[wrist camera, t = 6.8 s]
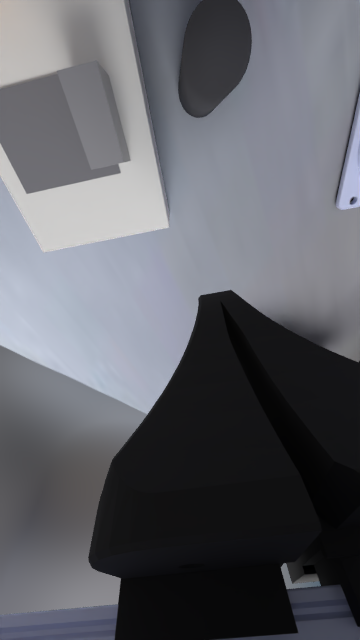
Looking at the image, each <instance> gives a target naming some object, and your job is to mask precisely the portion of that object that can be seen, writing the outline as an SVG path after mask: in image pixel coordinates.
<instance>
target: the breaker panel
mask: <svg viewBox="0 0 360 640" xmlns="http://www.w3.org/2000/svg"><path fill="white" fill-rule="evenodd" d="M0 176H1V178H2V180H3V182H4V183H5V185H6V187H7V189H8V191H9V192H10V194H11V196H12V198H13V199H14V201H15V203H16V205H17V207H18V208H19V210H20V212H21V214H22V215H23V217H24V219H25V221H26V223H27V224H28V226H29V228H30V230H31V231H32V233H33V235H34V237H35V239H36V240H37V242H38V244H39V246H40V248H41V249H42V251H43V253H44V252H49V251H54V250H59V249H64V248H69V247H74V246H79V245H84V244H89V243H94V242H99V241H104V240H109V239H114V238H119V237H124V236H129V235H134V234H139V233H144V232H149V231H154V230H159V229H164V228H169V215H170V213H169V208H168V202H167V197H166V192H165V187H164V182H163V176H162V171H161V166H160V161H159V156H158V150H157V145H156V140H155V135H154V130H153V124H152V119H151V114H150V109H149V104H148V98H147V93H146V88H145V83H144V78H143V72H142V67H141V62H140V57H139V52H138V46H137V41H136V36H135V31H134V26H133V20H132V15H131V10H130V5H129V0H0Z"/></svg>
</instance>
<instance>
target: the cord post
mask: <svg viewBox="0 0 360 640" xmlns="http://www.w3.org/2000/svg"><path fill="white" fill-rule="evenodd" d="M251 43H252V39H251V28H250V23H249V20H248V17H247V14H246V12H245V10H244V8H243V7H242V5H241V4H240V3H239V2H238V1H237V0H203V1H202V2H201V3H200V4H199V5H198V6H197V7H196V9H195V10H194V12H193V13H192V15H191V17H190V19H189V22H188V25H187V28H186V31H185V36H184V44H183V52H182V61H181V69H180V78H179V89H178V91H179V98H180V102H181V104H182V106H183V108H184V110H185V111H186V112H187V113H188V114H189V115H191V116H193V117H197V118H200V117H204V116H206V115H208V114H209V113H211V112H212V111H213V110H214V109H215V108H216V107H217V106H218V105H219V103H220V102H221V101H222V100H223V99H224V98H225V97H226V96H227V95H228V94H229V93H230V92H231V91H232V90H233V89H234V88H235V87H236V86H237V85H238V84H239V82H240V81H241V79H242V77H243V75H244V74H245V71H246V69H247V66H248V63H249V59H250V54H251Z"/></svg>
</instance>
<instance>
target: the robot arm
mask: <svg viewBox="0 0 360 640" xmlns="http://www.w3.org/2000/svg"><path fill="white" fill-rule="evenodd" d="M352 197H354V200H353V201H352V202H351V203H350V199H351V198H352ZM336 207H337V208H339V209H342V210H344V209H349V208H354V207H360V94H359V98H358V103H357V108H356V112H355V117H354V121H353V126H352V131H351V135H350V140H349V145H348V149H347V154H346V158H345V163H344V168H343V172H342V177H341V181H340V186H339V191H338V195H337V200H336ZM198 300H199V306H198V313H197V317H196V321H195V325H194V329H193V332H192V334H191V337H190V340H189V343H188V345H187V348H186V350H185V352H184V355H183V357H182V359H181V361H180V363H179V365H178V367H177V369H176V370H175V372H174V374H173V376H172V378H171V380H170V381H169V383H168V385H167V386H166V388H165V390H164V391H163V393H162V394H161V396H160V397H159V399H158V400H157V402H156V403H155V404H154V406H153V407H152V409H151V410H150V412H149V413H148V415H147V416H146V418H145V419H144V420H143V422H142V423H141V424H140V426H139V427H138V428H137V429H136V431H135V432H134V433H133V434H132V436H131V437H130V438H129V439H128V441H127V442H126V443H125V444H124V446H123V447H122V448H121V450H120V451H119V452H118V453H117V454H116V456H115V457H114V458H113V460H112V462H111V465H110V468H109V471H108V474H107V477H106V480H105V484H104V488H103V491H102V494H101V497H100V501H99V506H98V510H97V515H96V521H95V526H94V532H93V536H92V541H91V547H90V553H89V557H88V558H89V563H90V564H91V566H92V568H93V569H95V570H97V571H100V572H103V573H106V574H109V575H112V576H116V577H119V578H121V584H120V594H119V602H118V605H105V606H94V607H83V608H72V609H60V610H50V611H38V612H27V613H16V614H4V615H0V640H360V363H358V362H356V361H353V360H351V359H348V358H346V357H344V356H341V355H339V354H337V353H334V352H332V351H329V350H327V349H325V348H323V347H321V346H318V345H316V344H314V343H312V342H310V341H308V340H306V339H304V338H302V337H300V336H298V335H297V334H295V333H293V332H291V331H289V330H287V329H286V328H284V327H282V326H281V325H279V324H278V323H276V322H274V321H273V320H271V319H269V318H268V317H266V316H265V315H264V314H262V313H261V312H259V311H258V310H256V309H255V308H254V307H252V306H251V305H250V304H248V303H247V302H246V301H245V300H243V299H242V298H241V297H240V296H238V295H237V294H236V293H234V292H233V291H232V290H228V291H223V292H217V293H212V294H206V295H201V296H200V297H199V298H198ZM283 563H286V564H287V567H288V571H289V574H290V578H291V581H292V583H304V582H315V581H320V584H321V586H320V587H308V588H296V589H286V586H285V582H284V579H283V575H282V571H281V566H282V565H283Z"/></svg>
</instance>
